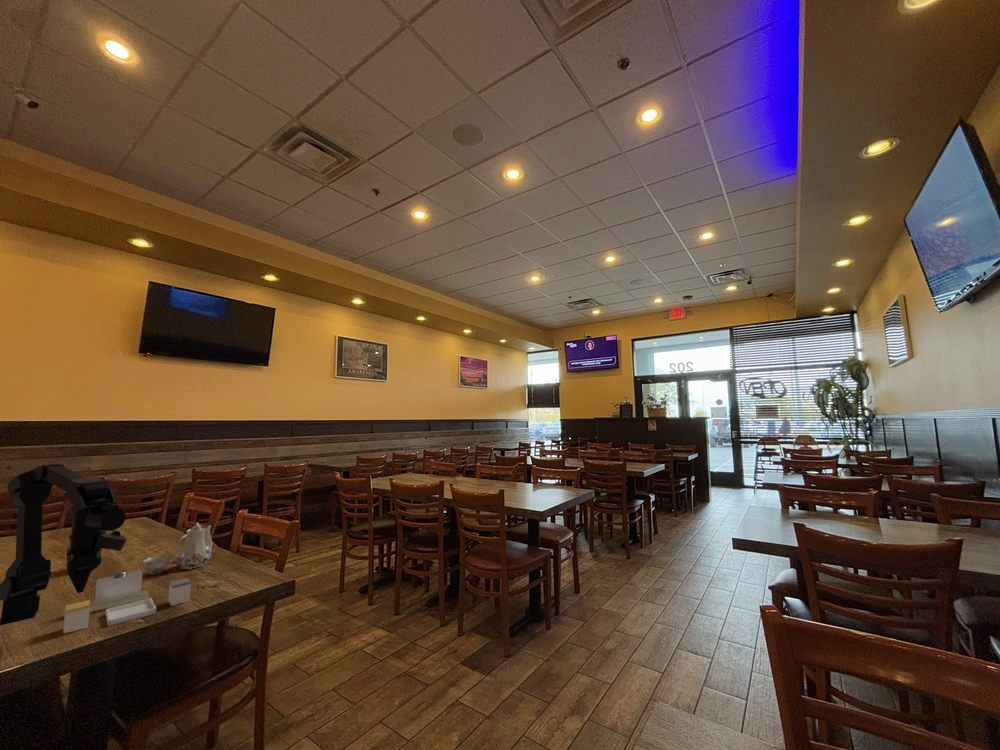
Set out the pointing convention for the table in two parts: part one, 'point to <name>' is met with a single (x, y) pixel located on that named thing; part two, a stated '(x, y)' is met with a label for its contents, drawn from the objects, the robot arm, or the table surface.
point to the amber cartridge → (76, 616)
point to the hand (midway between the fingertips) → (79, 587)
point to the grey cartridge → (179, 591)
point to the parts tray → (130, 611)
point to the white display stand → (118, 590)
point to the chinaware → (185, 551)
